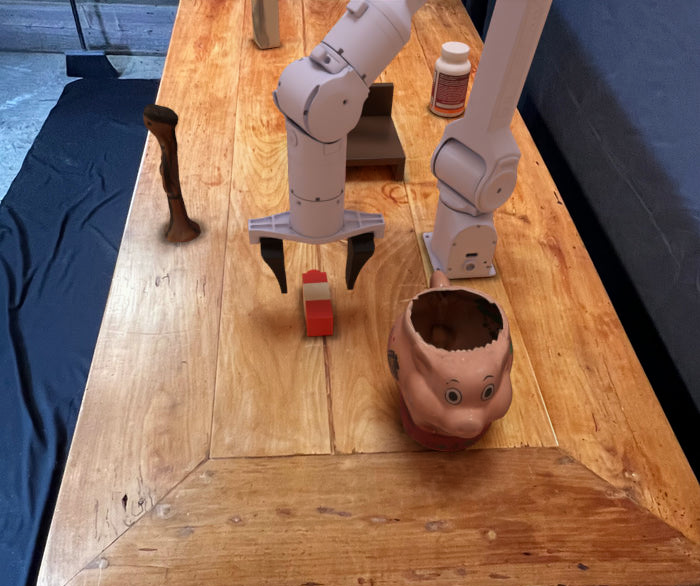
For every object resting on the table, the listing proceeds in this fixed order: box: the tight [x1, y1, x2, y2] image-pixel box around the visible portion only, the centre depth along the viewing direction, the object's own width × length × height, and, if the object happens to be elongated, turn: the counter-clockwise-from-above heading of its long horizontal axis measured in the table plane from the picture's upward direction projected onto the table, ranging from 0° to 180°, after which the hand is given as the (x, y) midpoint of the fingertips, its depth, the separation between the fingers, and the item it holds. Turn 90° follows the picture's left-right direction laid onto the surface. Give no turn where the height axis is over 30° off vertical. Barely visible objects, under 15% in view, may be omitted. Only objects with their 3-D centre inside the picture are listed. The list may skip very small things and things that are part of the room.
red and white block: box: [301, 268, 334, 337], centre depth 76 cm, size 9×3×3 cm, turn 7°
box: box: [250, 0, 281, 50], centre depth 125 cm, size 5×4×13 cm
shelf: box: [346, 82, 407, 181], centre depth 97 cm, size 14×16×9 cm
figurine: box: [142, 102, 202, 243], centre depth 80 cm, size 7×5×18 cm
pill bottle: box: [429, 41, 472, 118], centre depth 109 cm, size 6×6×11 cm
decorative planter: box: [386, 270, 514, 452], centre depth 63 cm, size 20×12×14 cm, turn 10°
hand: (316, 286), depth 73 cm, fingers open, 7 cm apart
